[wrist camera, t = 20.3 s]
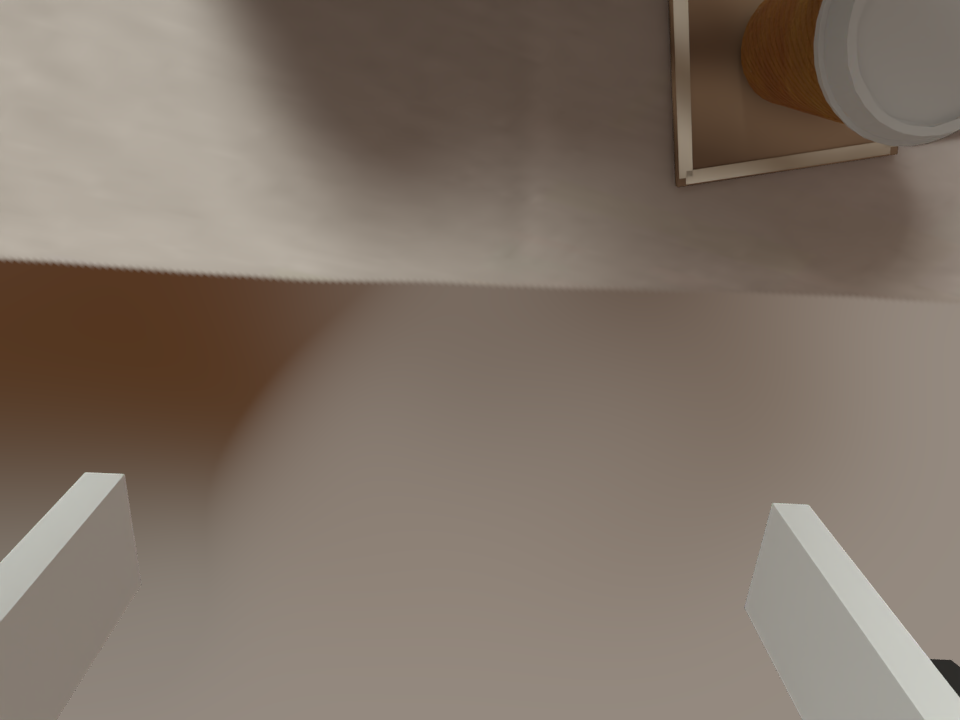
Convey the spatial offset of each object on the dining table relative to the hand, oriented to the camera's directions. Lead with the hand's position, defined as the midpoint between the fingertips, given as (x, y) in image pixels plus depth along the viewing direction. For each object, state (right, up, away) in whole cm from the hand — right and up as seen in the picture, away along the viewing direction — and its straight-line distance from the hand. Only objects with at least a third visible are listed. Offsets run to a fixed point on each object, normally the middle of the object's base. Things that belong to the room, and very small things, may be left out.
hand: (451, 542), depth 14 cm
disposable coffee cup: (+18, +22, +25) cm, 38 cm away
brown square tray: (+18, +21, +26) cm, 38 cm away
